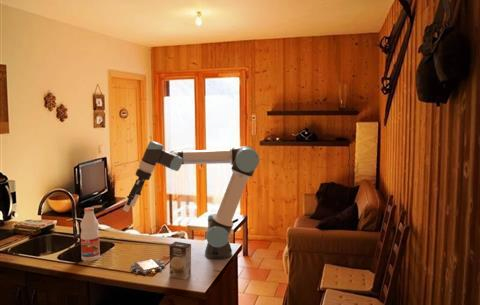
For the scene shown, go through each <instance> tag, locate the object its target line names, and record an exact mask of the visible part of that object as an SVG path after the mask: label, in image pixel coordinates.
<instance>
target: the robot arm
mask: <svg viewBox="0 0 480 305" xmlns="http://www.w3.org/2000/svg"><path fill="white" fill-rule="evenodd" d="M157 164H158V165H161V166H163V167H166V168H168V169H170V170H171V171H175V172H178V171H179V170H180V168H181V167H182V165H209V164H210V165H212V164H230V165H231V168H230V169H231V171H232V174H231V176H230V179H229V182H228V184H227V186H226V189H225V192H224V194H223V197H222V200H221V202H220V204H219V208H218V210H217V213H211V214H209V215H208V216H207V229H206V234H205V238H206V243H207V244H206V247H205V249H204V256H205V257H206V258H208V259H211V260H223V259H224V260H225V259H227V258H228V259H229V258H230V257H232V255H233V250H232V247H231V243H230V234H231V231H232V229H233V227H234V222H233V219H234V215H235V213H236V212H237V211H236V210H237V208H238V206H239V203H240V201H241V198H242V196H243V193H244V191H245V187H246V185H247V183H248V181H249V179H250V178H252V177H253V175H254V173H255V171H256V169H257V168H258V166H259V164H260V156H259V153H258V152H257V151H256V149H255V148H253V147H252V146H249V145H243V146H236V147H232V146H231V147H230V148H228V149H227V148H226V149H201V150H199V149H198V150H175V149H174V150H171V151H167V150H165V149H164V145H163V144H162V143H160V142H157V141H154V140H151V141H149V143H148V144H147V147H146V148H145V151H144V153H143V156H142V157H141V161H140V160H139V165H138V168H137V169H136V171H135V176H136V177H138V178H136V179H135V182H134V184H133V186H132V189H131V191H130V192H129V194H128V195H126V198H127V199H126V202H125V205H124V206H123V208H122V210H123V211H125V212H126V213H129V211H130V209H131V207H133V208H134V207H135V206H136V204H137V201H138V199H139V196H141V195H142V190H143V188H144V185H145V182H146V181H149V180H150V179H151V176H152V175H153V174H152V173H153V172H154V170H155V168H156V165H157Z"/></svg>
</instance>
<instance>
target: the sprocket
mask: <svg viewBox="0 0 480 305" xmlns="http://www.w3.org/2000/svg"><path fill="white" fill-rule="evenodd" d="M165 268H166V264H165V262H164V261H161V260H160V259H153V258H149V259H146V260H145V259H141V260H140V261H134V264H131V265H130V271H131V272H132V273H134V272H135V271H136V272H135V275H138V274H146V275H148V274H150V273H149V272H152V273H155V274H156V272H155V271H157V272H162V271H163V269H165ZM133 271H134V272H133ZM152 273H151V274H152Z"/></svg>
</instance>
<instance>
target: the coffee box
mask: <svg viewBox="0 0 480 305" xmlns="http://www.w3.org/2000/svg"><path fill="white" fill-rule="evenodd" d="M191 275H192V243H187V242H182V241H174V242H173V243H171V244H170V245H169V278H174V279H179V280H187V279H189V277H190V276H191Z"/></svg>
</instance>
